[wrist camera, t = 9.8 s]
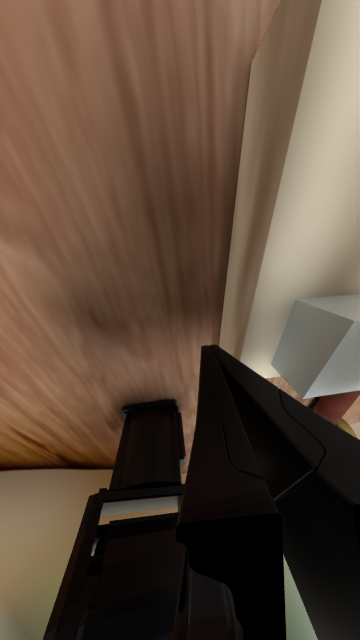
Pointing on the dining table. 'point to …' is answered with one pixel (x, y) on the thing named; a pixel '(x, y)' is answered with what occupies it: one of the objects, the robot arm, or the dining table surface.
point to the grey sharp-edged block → (321, 346)
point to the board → (295, 177)
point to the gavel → (336, 408)
